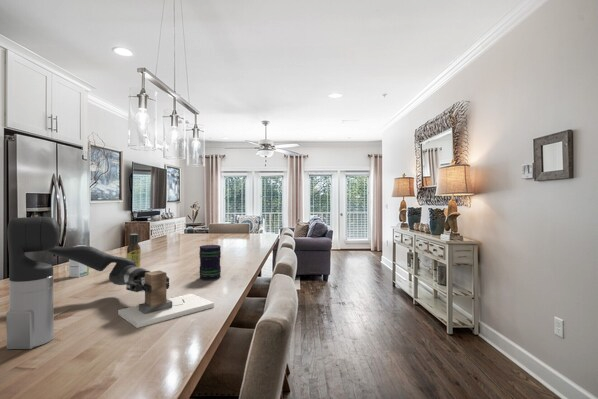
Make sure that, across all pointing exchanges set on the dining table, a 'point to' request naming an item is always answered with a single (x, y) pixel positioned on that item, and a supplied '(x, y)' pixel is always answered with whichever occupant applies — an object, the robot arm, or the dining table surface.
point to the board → (166, 310)
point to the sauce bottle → (134, 249)
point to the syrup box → (77, 268)
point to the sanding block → (155, 293)
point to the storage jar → (210, 262)
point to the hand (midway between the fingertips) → (159, 287)
